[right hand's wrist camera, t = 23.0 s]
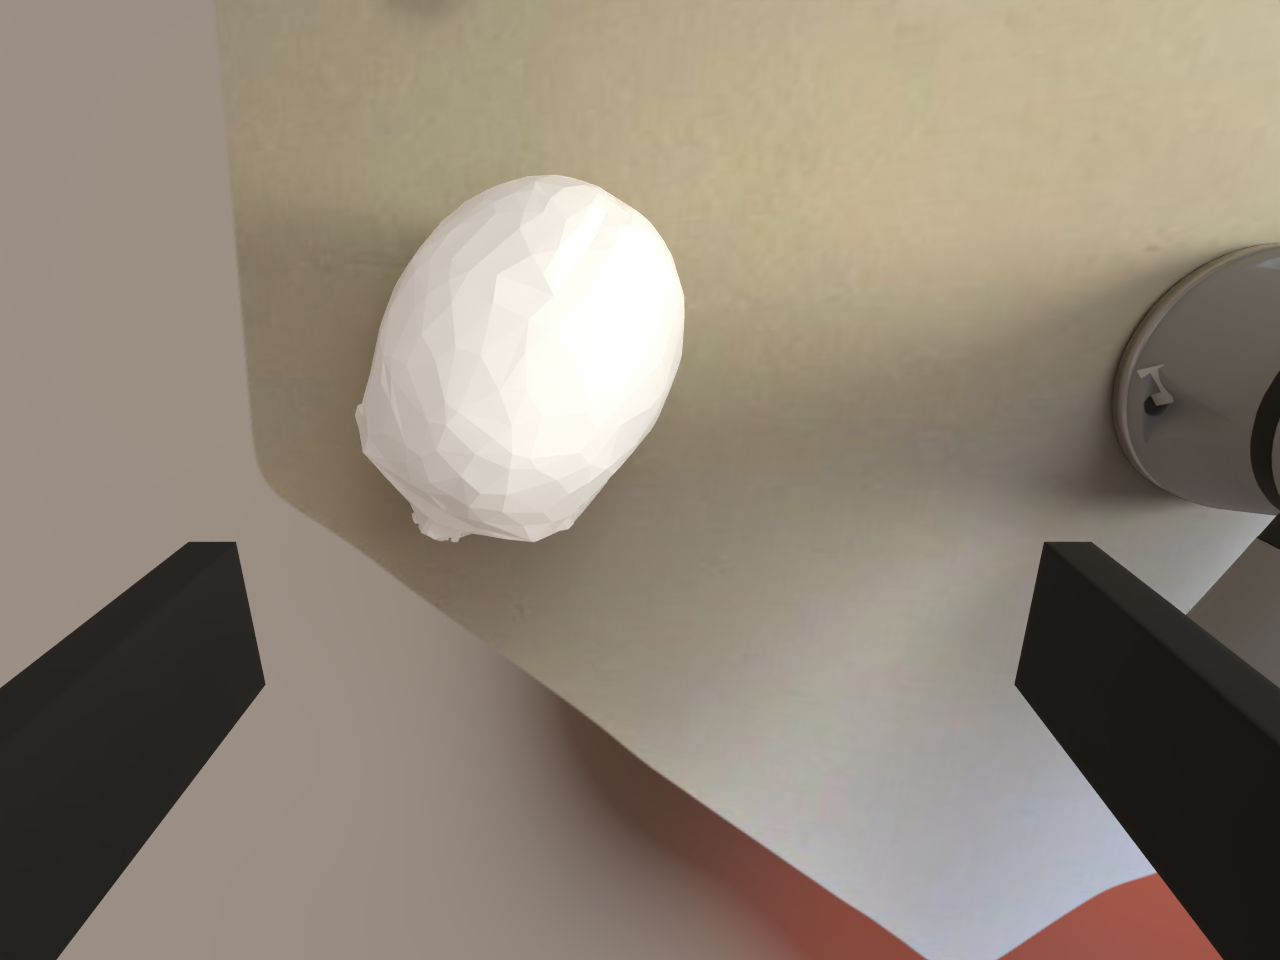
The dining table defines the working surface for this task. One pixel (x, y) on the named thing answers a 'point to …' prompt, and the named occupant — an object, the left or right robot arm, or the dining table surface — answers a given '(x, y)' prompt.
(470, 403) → the skull
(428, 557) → the dining table surface
